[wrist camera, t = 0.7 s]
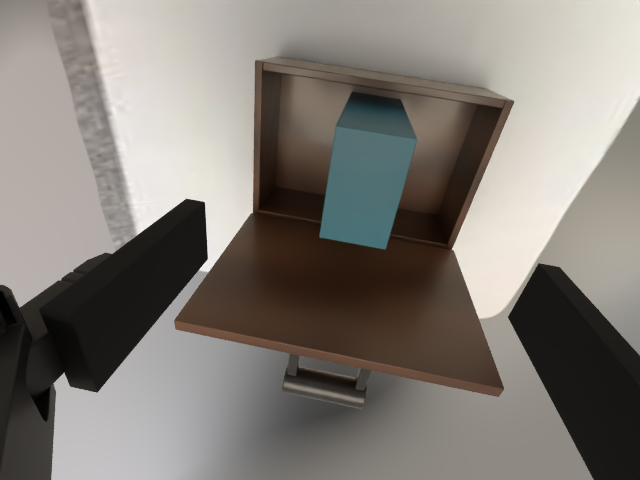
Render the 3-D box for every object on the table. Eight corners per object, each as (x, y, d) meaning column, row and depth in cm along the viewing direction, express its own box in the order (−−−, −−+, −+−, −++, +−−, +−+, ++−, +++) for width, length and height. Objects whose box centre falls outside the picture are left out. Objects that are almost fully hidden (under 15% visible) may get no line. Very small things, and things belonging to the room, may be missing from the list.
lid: (173, 320, 19) (186, 396, 23) (504, 389, 18) (455, 455, 22) (251, 212, 31) (250, 276, 35) (453, 250, 30) (427, 310, 34)
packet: (351, 91, 30) (335, 125, 18) (401, 99, 30) (417, 138, 18) (338, 168, 34) (319, 237, 22) (382, 176, 34) (385, 250, 22)
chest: (277, 56, 30) (254, 60, 24) (487, 89, 29) (514, 101, 23) (271, 188, 37) (252, 214, 31) (439, 218, 36) (451, 251, 30)
